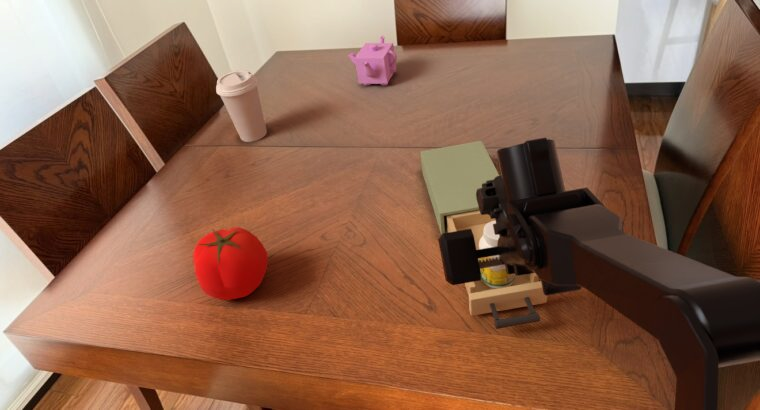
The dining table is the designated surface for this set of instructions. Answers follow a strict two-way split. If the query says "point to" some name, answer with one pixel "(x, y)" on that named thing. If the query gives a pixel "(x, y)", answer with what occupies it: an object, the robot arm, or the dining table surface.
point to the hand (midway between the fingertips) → (504, 248)
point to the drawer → (494, 300)
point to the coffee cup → (243, 103)
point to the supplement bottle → (495, 274)
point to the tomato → (230, 263)
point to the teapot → (375, 62)
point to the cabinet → (456, 178)
